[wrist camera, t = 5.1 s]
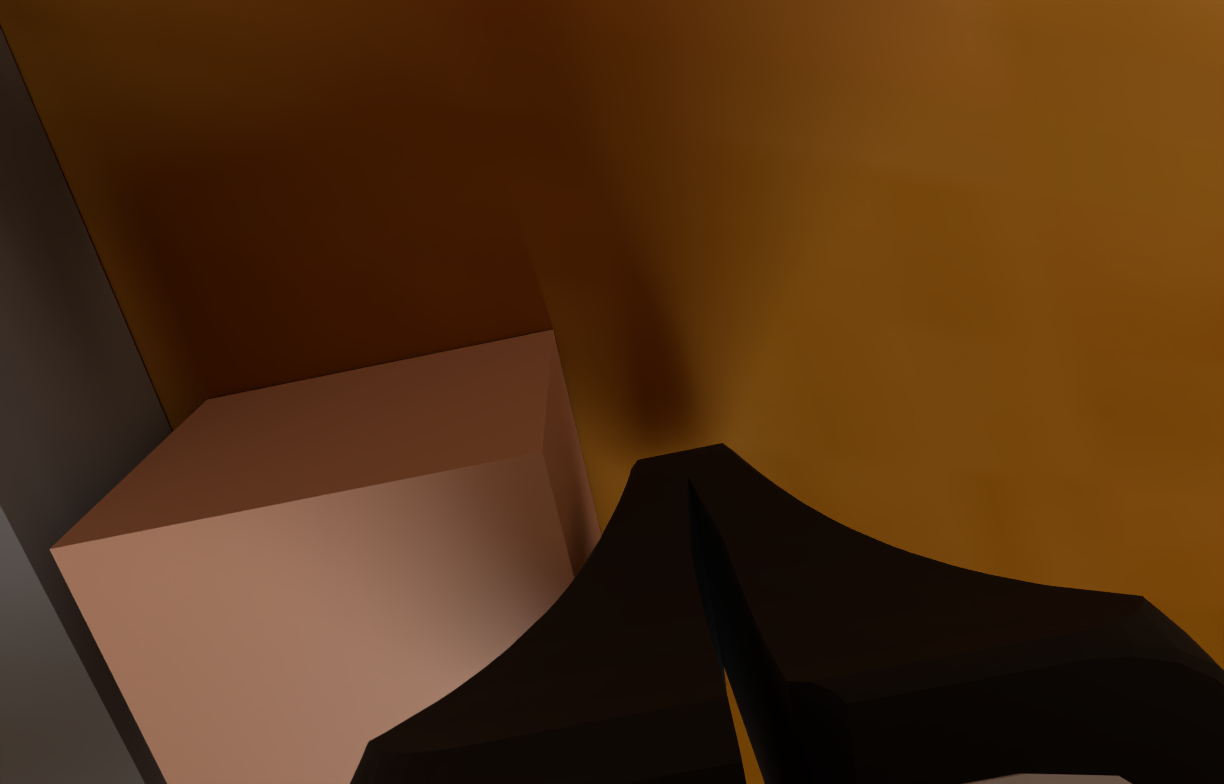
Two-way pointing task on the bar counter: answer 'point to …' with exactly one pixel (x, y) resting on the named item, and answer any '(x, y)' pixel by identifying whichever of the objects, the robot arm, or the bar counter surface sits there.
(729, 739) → the robot arm
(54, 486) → the gray rectangular bar
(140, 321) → the bar counter surface
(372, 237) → the bar counter surface
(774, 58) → the bar counter surface
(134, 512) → the block
